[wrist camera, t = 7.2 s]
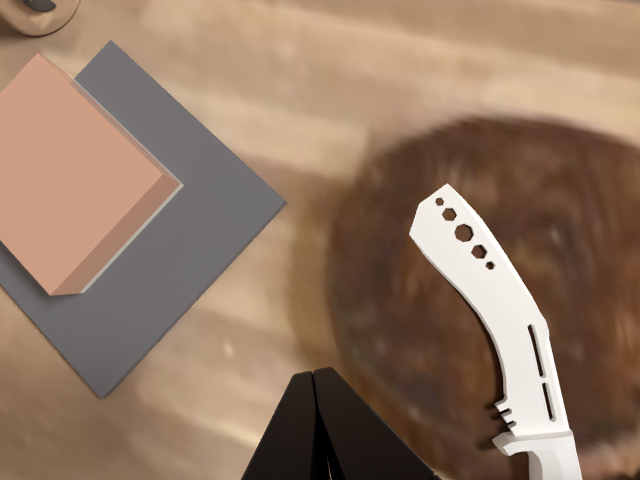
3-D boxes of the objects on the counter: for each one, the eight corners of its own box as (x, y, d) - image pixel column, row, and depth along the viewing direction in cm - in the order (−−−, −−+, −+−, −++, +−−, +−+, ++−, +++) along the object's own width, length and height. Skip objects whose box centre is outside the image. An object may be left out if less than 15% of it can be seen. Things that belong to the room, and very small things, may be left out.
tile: (162, 174, 19) (37, 52, 21) (50, 295, 19) (-67, 165, 21) (184, 185, 21) (70, 75, 23) (83, 293, 21) (-24, 176, 23)
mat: (287, 203, 21) (285, 201, 21) (108, 395, 21) (101, 399, 21) (116, 45, 23) (110, 39, 23) (-47, 220, 23) (-57, 219, 23)
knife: (352, 118, 23) (351, 105, 21) (438, 86, 22) (444, 70, 21) (550, 647, 18) (568, 684, 16) (664, 619, 18) (695, 654, 16)
